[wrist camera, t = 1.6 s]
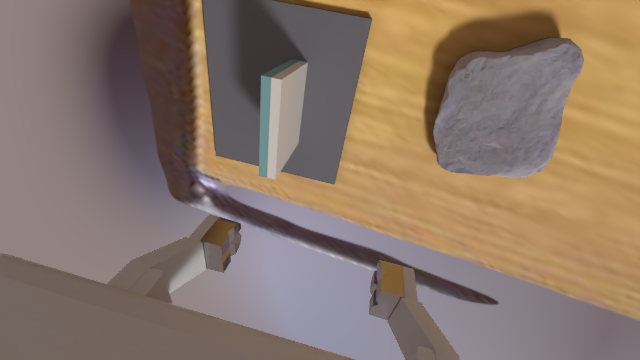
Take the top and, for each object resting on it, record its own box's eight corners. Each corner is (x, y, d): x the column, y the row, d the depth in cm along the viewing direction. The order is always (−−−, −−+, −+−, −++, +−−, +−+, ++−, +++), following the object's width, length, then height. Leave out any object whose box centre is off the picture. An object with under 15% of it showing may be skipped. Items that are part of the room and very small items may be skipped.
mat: (204, -13, 24) (201, -14, 24) (371, 19, 23) (371, 19, 23) (218, 153, 35) (216, 155, 34) (334, 181, 33) (334, 184, 33)
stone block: (431, 158, 31) (536, 163, 27) (429, 178, 27) (549, 187, 23) (440, 48, 25) (574, 33, 21) (437, 54, 22) (600, 37, 18)
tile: (292, 59, 26) (260, 75, 19) (307, 62, 26) (281, 79, 19) (285, 140, 31) (258, 175, 24) (298, 143, 31) (275, 179, 24)
